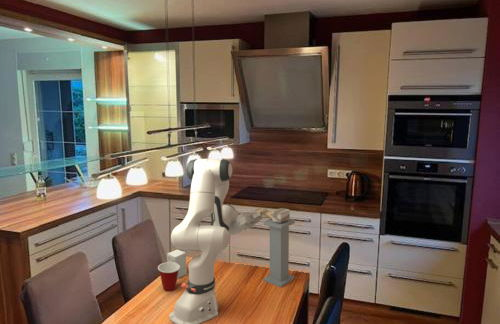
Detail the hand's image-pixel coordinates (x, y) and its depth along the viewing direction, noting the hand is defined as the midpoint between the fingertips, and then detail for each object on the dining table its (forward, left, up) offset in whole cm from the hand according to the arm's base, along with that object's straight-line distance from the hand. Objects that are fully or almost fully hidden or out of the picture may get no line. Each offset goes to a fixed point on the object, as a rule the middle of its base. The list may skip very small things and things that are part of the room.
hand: (263, 212), depth 192 cm
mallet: (0, -5, -2) cm, 5 cm away
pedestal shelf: (0, -10, -35) cm, 36 cm away
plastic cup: (-42, +27, -35) cm, 61 cm away
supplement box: (-30, +36, -35) cm, 58 cm away
